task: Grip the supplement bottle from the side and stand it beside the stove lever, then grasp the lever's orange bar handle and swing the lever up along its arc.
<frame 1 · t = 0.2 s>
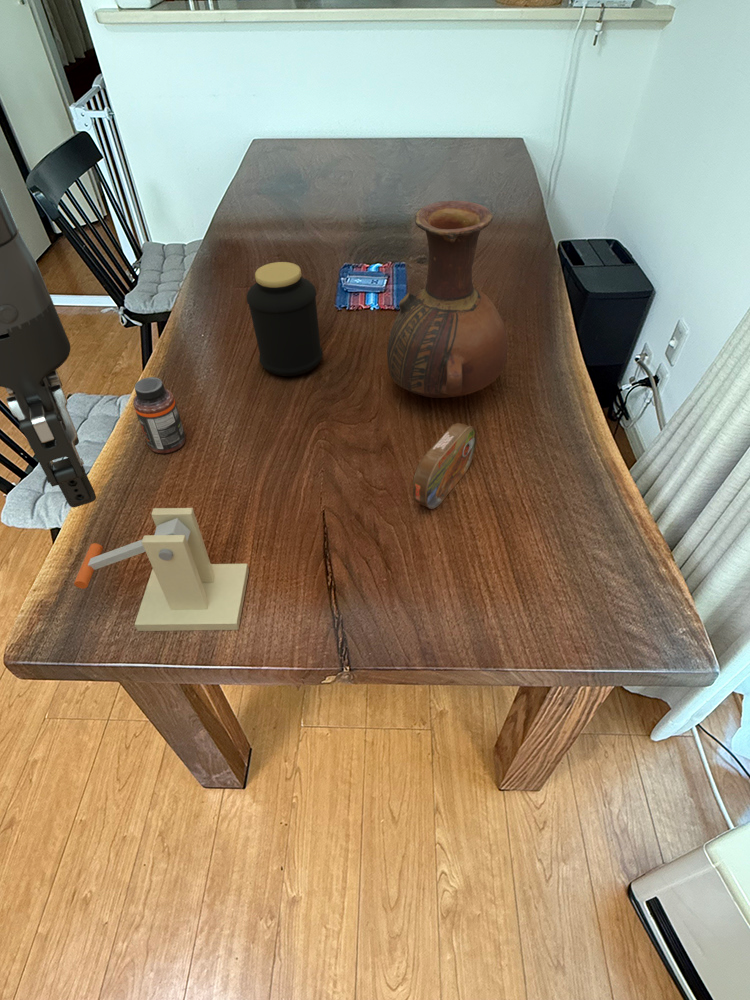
hand: (75, 472, 54), 25 cm above the table, tool pointing down, fingers open, 8 cm apart
container: (291, 365, 112), on the table
vase: (443, 392, 105), on the table
stove bracket: (195, 599, 74), on the table
supplement bottle: (168, 444, 96), on the table
tin: (443, 486, 88), on the table
stove lever: (131, 550, 67), point 10 cm above the table, hinge at -25.0°
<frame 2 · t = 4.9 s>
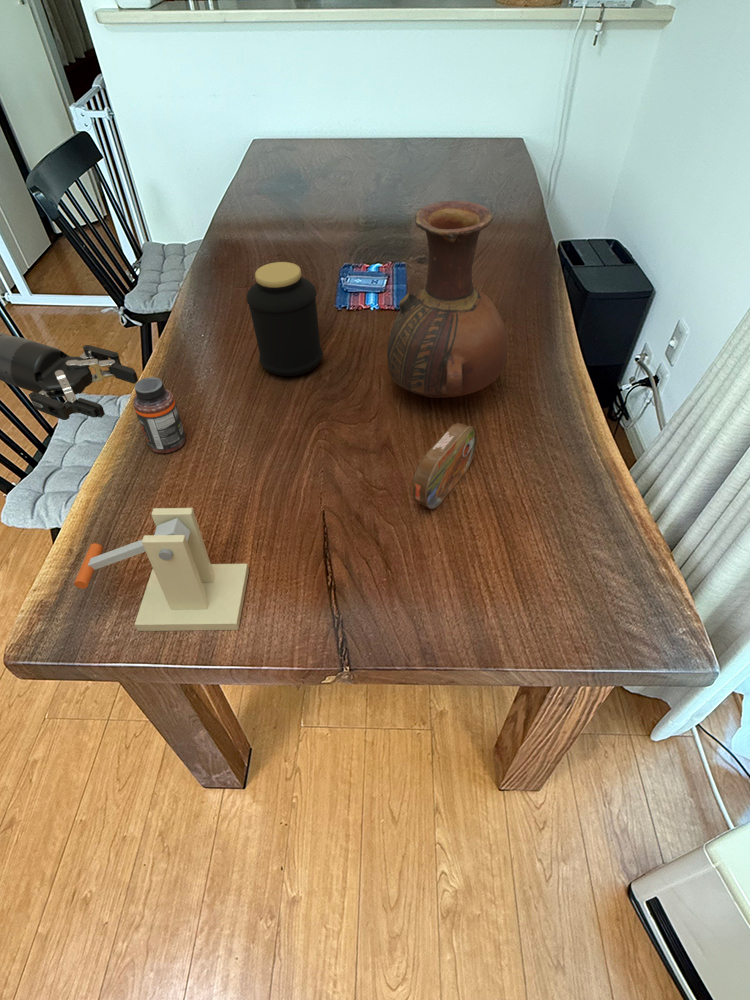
hand: (119, 394, 90), 9 cm above the table, tool horizontal, fingers open, 8 cm apart
nothing on the table moved.
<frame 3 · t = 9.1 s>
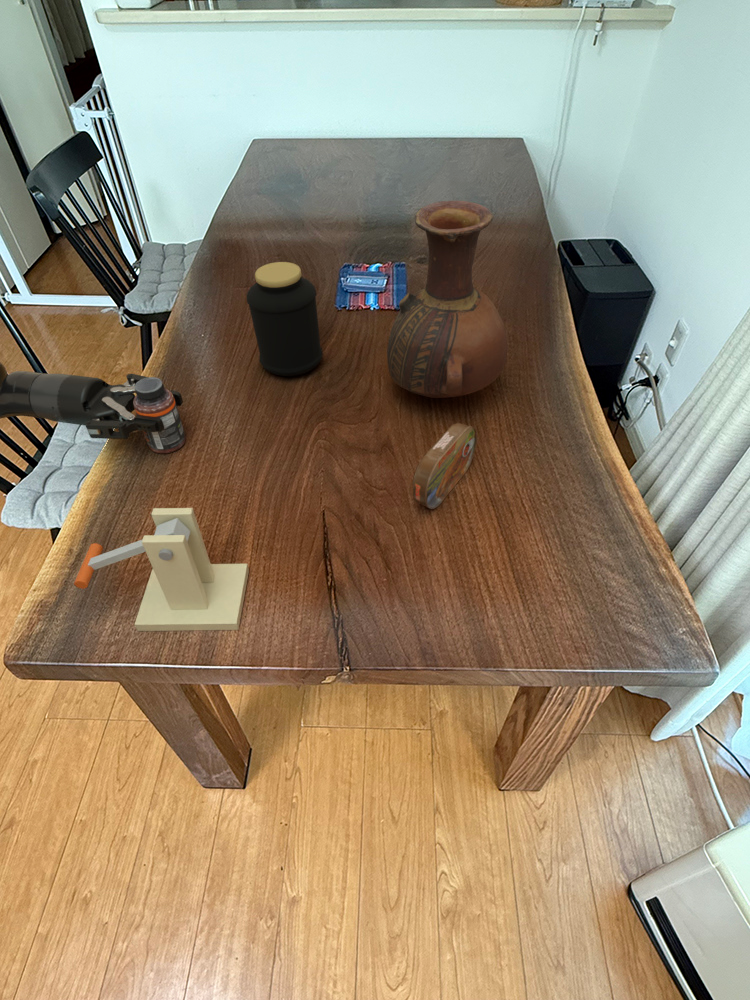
hand: (171, 411, 91), 7 cm above the table, tool horizontal, fingers closed on supplement bottle, 6 cm apart
supplement bottle: (168, 444, 96), on the table, touching gripper
everything else where it was.
when the fingers open (7 cm above the table, at t = 19.9 s): supplement bottle stays where it is, on the table.
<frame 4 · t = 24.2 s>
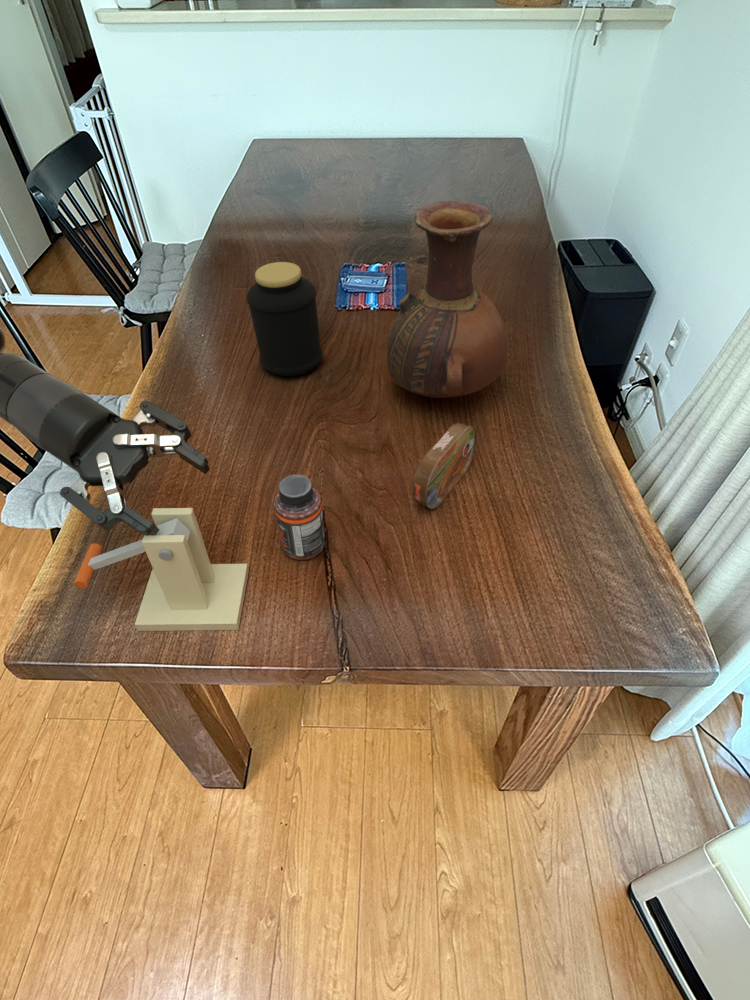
hand: (182, 498, 64), 16 cm above the table, tool tilted 75°, fingers open, 8 cm apart
supplement bottle: (303, 546, 80), on the table
everything else where it was.
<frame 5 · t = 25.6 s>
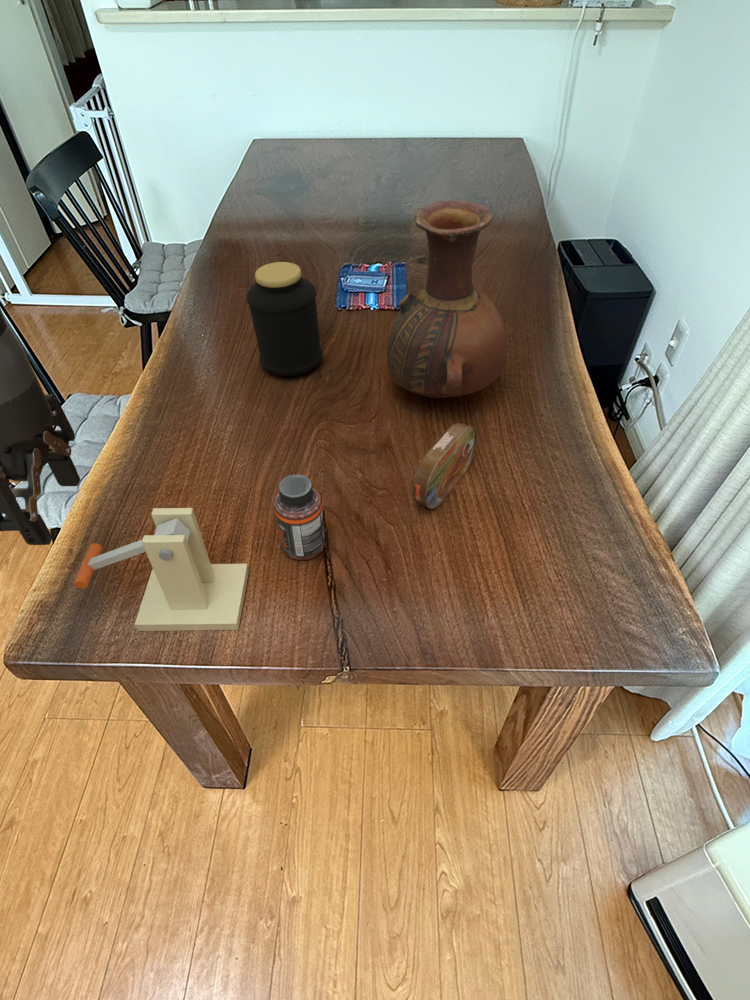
hand: (57, 512, 63), 16 cm above the table, tool pointing down, fingers open, 8 cm apart
nothing on the table moved.
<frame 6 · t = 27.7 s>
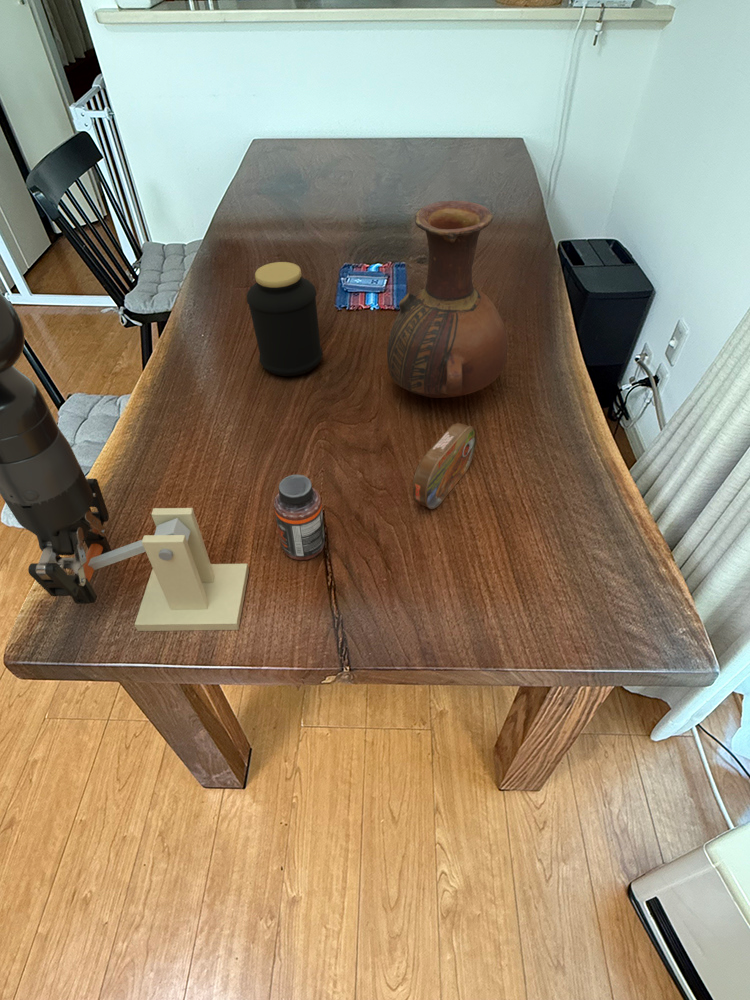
hand: (96, 578, 71), 4 cm above the table, tool pointing down, fingers closed on stove lever, 5 cm apart
stove lever: (131, 550, 67), point 10 cm above the table, hinge at -25.1°, touching gripper
everything else where it was.
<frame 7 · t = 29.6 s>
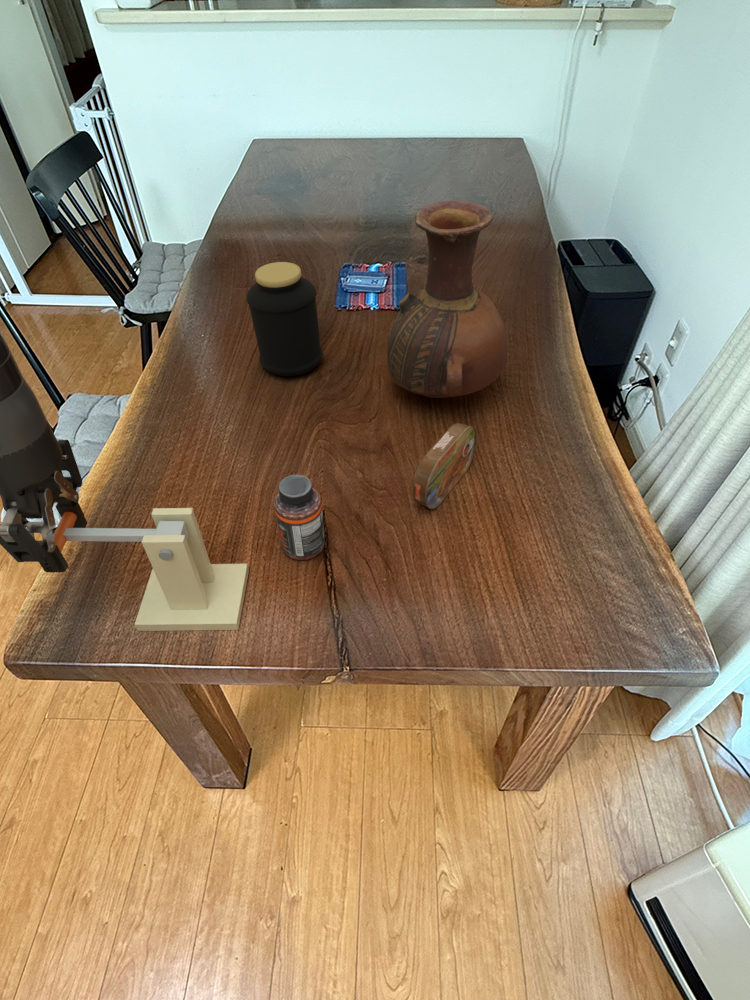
hand: (68, 547, 67), 10 cm above the table, tool pointing down, fingers closed on stove lever, 5 cm apart
stove lever: (119, 534, 65), point 12 cm above the table, hinge at 1.9°, touching gripper
everything else where it was.
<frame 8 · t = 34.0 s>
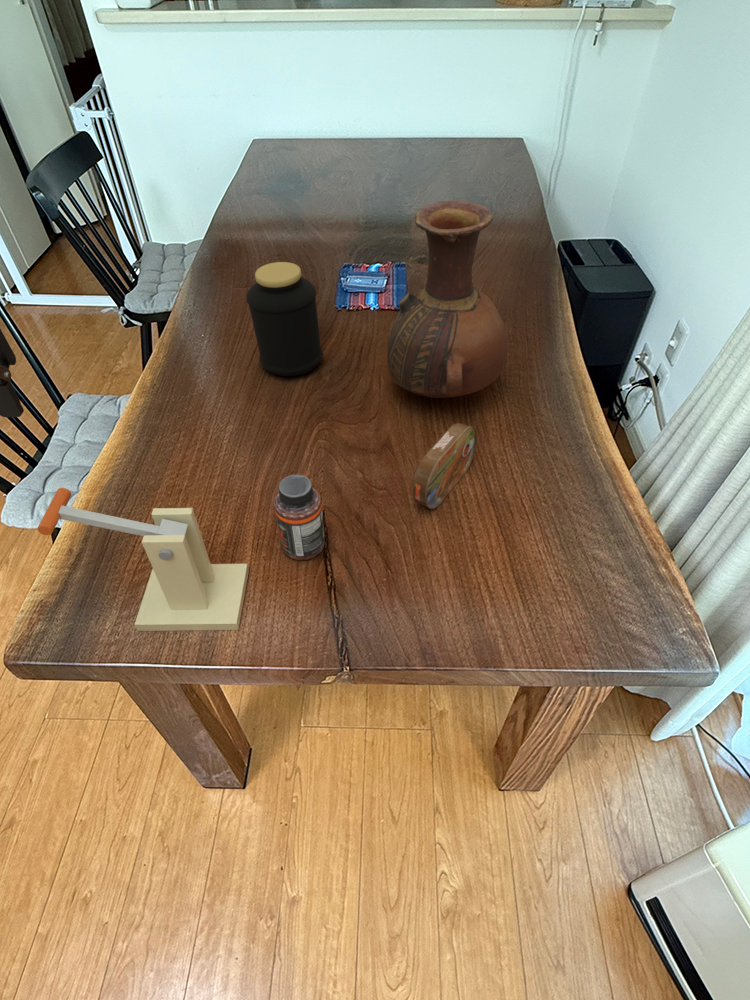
stove lever: (117, 524, 64), point 14 cm above the table, hinge at 19.9°
everything else where it was.
at the end: stove lever at +20° (first picture: -25°); supplement bottle inside the target area (0.1 cm from its centre), on the table; supplement bottle tilted 0° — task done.
